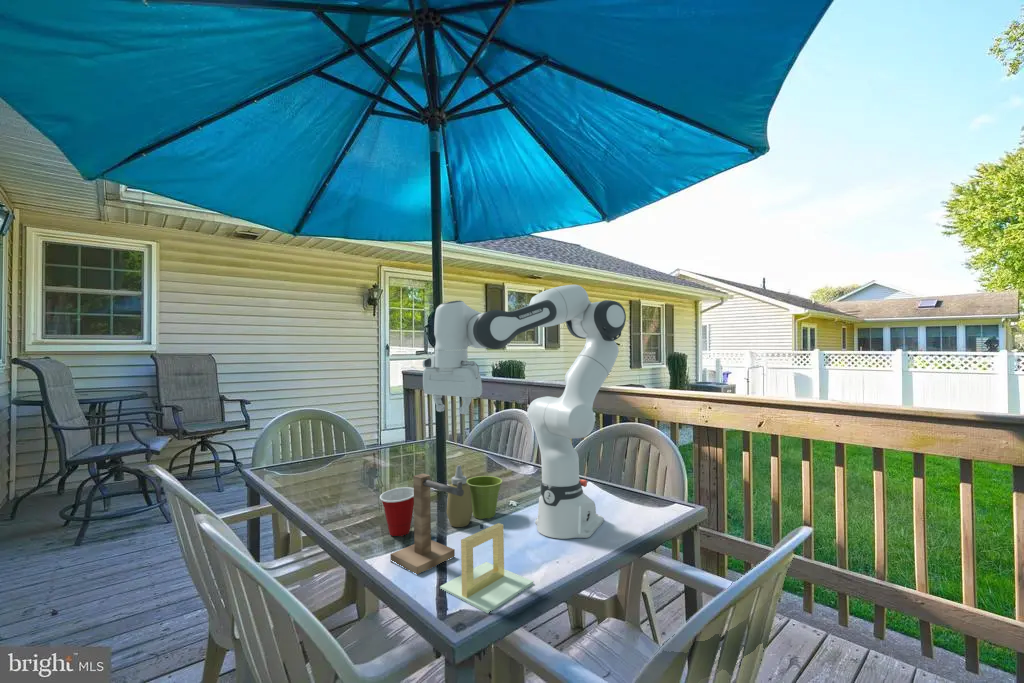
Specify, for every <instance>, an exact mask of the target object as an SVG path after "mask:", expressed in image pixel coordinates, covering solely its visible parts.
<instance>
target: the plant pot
mask: <svg viewBox="0 0 1024 683" xmlns="http://www.w3.org/2000/svg"><path fill="white" fill-rule="evenodd" d="M466 483H468V484H469V485H470V492H471V501H472V510H473V512H472V515H473V517H474V518H475V519H479V520H483V519H491V518H493V517H495V516H496V512H497V505H498V499H499V492H500V489H501V484H502V483H503V479H502V478H500V477H498V476H491V475H481V476H480V475H479V476H473V477H469V478H467V482H466Z"/></svg>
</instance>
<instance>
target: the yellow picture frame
mask: <svg viewBox="0 0 1024 683" xmlns="http://www.w3.org/2000/svg"><path fill="white" fill-rule="evenodd" d="M504 538H505V536H504V524H503V523H500V522H498V523H495V524H493V525H490V526H489V527H486V528H484V529H482V530H479V531H478V532H475V533H473V534H471V535H469V536H467V537H464V538H462V539H460V550H461V551H460V553H461V554H460V558H461V564H460V565H461V575H462V596H464V597H466V598H468V597H470V596H472V595H473V594H475V593H477V592H478V591H480V590H482V589H483V588H485V587H487V586H488V585H490V584H492V583H493V582H495V581H497V580H499V579H500V578H502V577H504V569H505V548H504V547H505V546H504V545H505V544H504V542H505V541H504V540H505V539H504ZM490 540H492V558H493V559H492V564H493V569H492V570H490V571H488V572H486V573H485V574H483V575H481V576H479V577H478V578H476V579H474V580H473V568H474V548H476V547H478V546H479V545H482V544H484V543H486V542H488V541H490Z"/></svg>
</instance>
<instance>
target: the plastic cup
mask: <svg viewBox="0 0 1024 683" xmlns="http://www.w3.org/2000/svg"><path fill="white" fill-rule="evenodd" d="M379 500H380V501H381V502H382V506H383V507H384V514H385V519H386V524H387V527H388V533H389V535H390V536H391V535H392V536H391V537H393V536H401V537H404V536H403V535H405V536H407V535H409V534H410V531H411V526H412V518H413V515H414V487H410V486H409V487H408V486H407V487H406V486H405V487H396V488H392V489H388V490H386V491H384V492H382V493H381V494H380V495H379ZM406 534H407V535H406Z"/></svg>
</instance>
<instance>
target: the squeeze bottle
mask: <svg viewBox="0 0 1024 683" xmlns="http://www.w3.org/2000/svg"><path fill="white" fill-rule="evenodd" d="M467 480H468V478H467V476H466V475H464V474H463V470H462V465H461V464H460V465H459V464H458V465H457V466H456V469H455V475H454V476H452V477H451V483H450V484H449V486H452V487H455V488H457V482H462V489H463V490H464V494H463V496H458V495H454V494H451V493H447V501H446V502H447V504H446V516H447V519H448V522H449V524H450V526H451V527H452V528H453V527H454V528H463V527H466V526H469V524H470V523H471V519H472V515H473V510H472V501H471V492H470V485H469V484H468V483H466V482H467Z"/></svg>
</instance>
